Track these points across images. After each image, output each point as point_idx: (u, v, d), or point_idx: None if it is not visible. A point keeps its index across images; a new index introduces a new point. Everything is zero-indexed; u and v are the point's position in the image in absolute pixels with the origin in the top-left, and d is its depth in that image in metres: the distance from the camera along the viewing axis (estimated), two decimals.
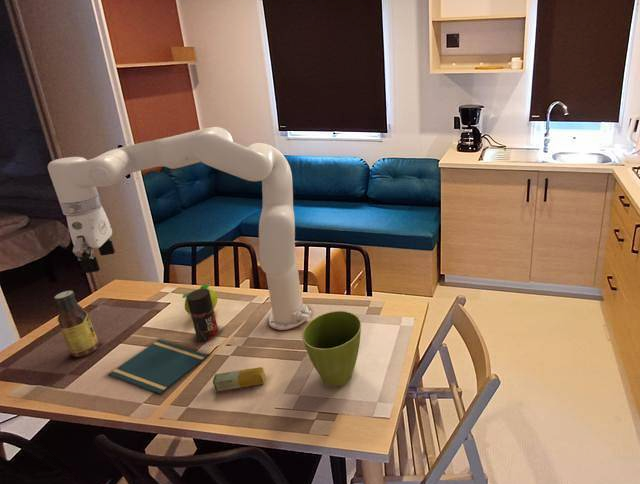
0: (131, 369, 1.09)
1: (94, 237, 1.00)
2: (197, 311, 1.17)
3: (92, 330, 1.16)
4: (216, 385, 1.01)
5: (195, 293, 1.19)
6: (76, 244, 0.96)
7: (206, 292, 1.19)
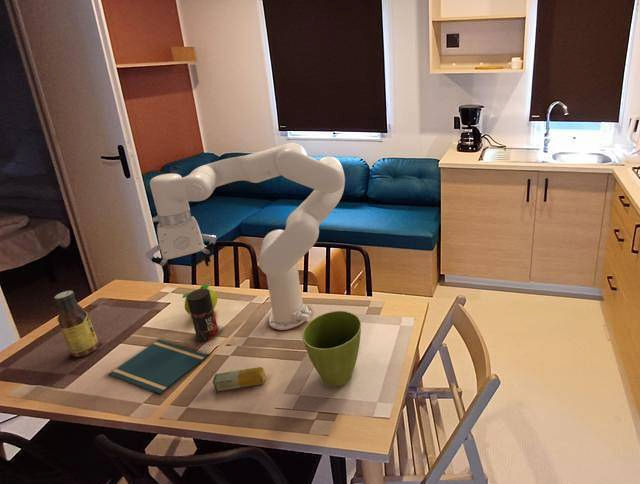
0: (131, 369, 1.09)
1: (162, 249, 1.08)
2: (197, 311, 1.17)
3: (92, 330, 1.16)
4: (216, 385, 1.01)
5: (195, 293, 1.19)
6: (151, 249, 1.08)
7: (206, 292, 1.19)
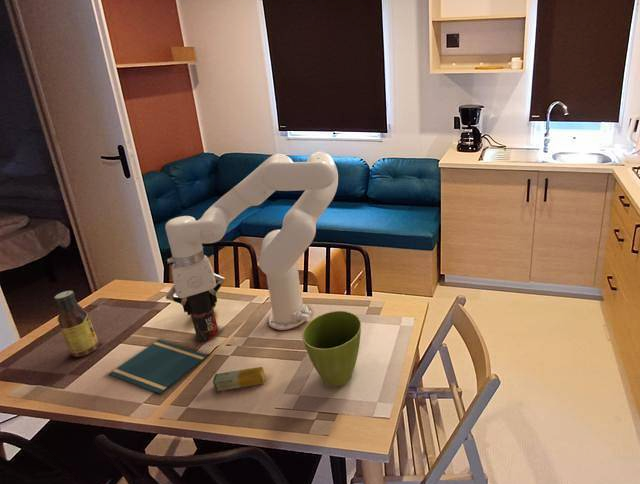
0: (131, 369, 1.09)
1: (176, 289, 1.12)
2: (197, 311, 1.17)
3: (92, 330, 1.16)
4: (216, 385, 1.01)
5: None
6: (169, 291, 1.14)
7: (206, 292, 1.19)
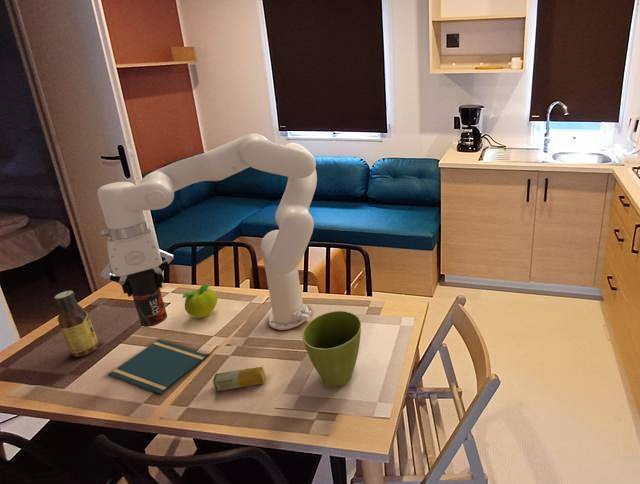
0: (131, 369, 1.09)
1: (112, 266, 0.97)
2: (139, 292, 1.02)
3: (92, 330, 1.16)
4: (216, 385, 1.01)
5: None
6: (105, 268, 0.99)
7: (150, 271, 1.04)
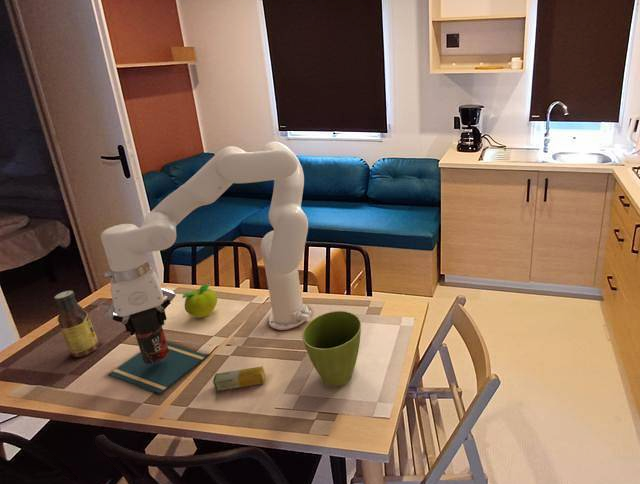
0: (131, 369, 1.09)
1: (116, 307, 0.99)
2: (141, 331, 1.04)
3: (92, 330, 1.16)
4: (216, 384, 1.01)
5: None
6: (108, 308, 1.00)
7: (152, 309, 1.06)
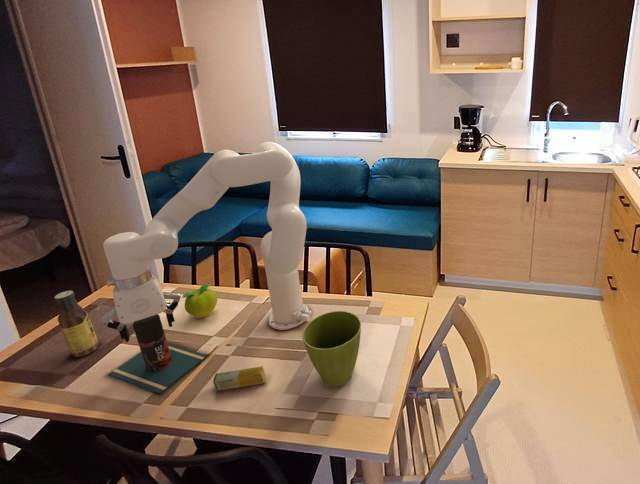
0: (131, 369, 1.09)
1: (118, 314, 1.00)
2: (145, 340, 1.05)
3: (92, 330, 1.16)
4: (216, 384, 1.01)
5: (143, 319, 1.07)
6: (107, 313, 1.01)
7: (155, 318, 1.07)
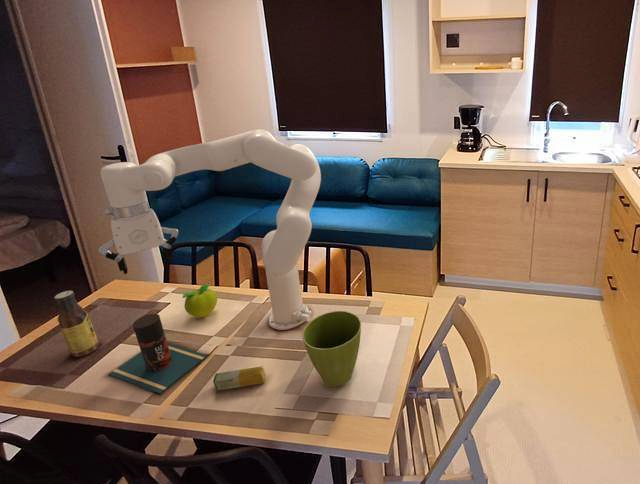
0: (131, 369, 1.09)
1: (116, 244, 1.00)
2: (145, 340, 1.05)
3: (92, 330, 1.16)
4: (216, 384, 1.01)
5: (143, 319, 1.07)
6: (105, 244, 1.01)
7: (155, 318, 1.07)
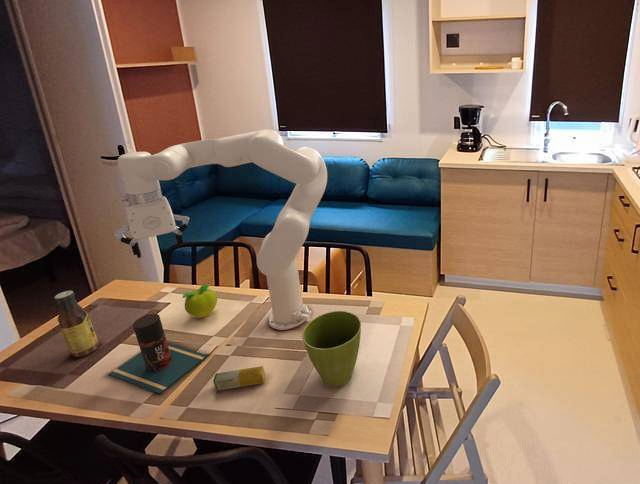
0: (131, 369, 1.09)
1: (131, 229, 1.05)
2: (145, 340, 1.05)
3: (92, 330, 1.16)
4: (216, 384, 1.02)
5: (143, 319, 1.07)
6: (120, 229, 1.06)
7: (155, 318, 1.07)
